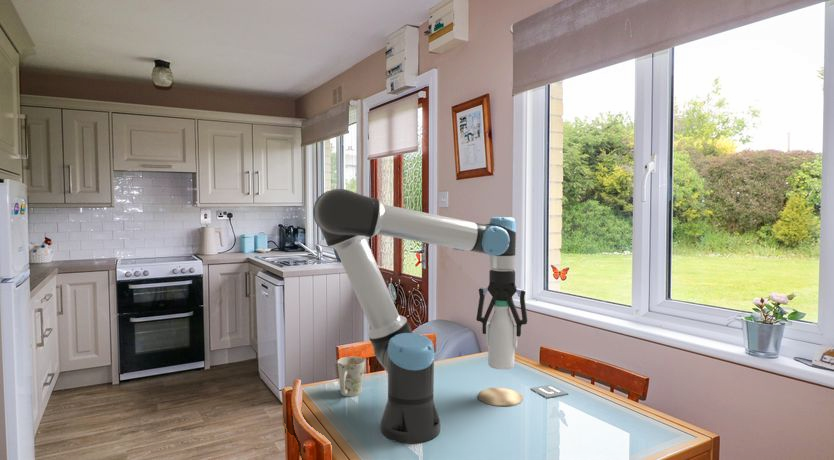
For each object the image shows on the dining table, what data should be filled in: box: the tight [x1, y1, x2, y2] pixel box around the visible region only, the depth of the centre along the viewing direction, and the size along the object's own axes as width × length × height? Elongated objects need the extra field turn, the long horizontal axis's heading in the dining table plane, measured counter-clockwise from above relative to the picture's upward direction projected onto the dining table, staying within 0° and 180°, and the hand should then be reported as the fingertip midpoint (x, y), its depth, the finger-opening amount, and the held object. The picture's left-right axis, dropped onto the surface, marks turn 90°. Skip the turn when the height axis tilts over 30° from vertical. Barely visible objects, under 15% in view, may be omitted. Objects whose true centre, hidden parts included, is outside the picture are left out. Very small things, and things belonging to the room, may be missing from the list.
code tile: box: [530, 384, 569, 399], centre depth 153 cm, size 8×8×1 cm
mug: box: [336, 356, 366, 398], centre depth 148 cm, size 8×13×10 cm, turn 174°
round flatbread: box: [477, 387, 524, 407], centre depth 148 cm, size 13×13×1 cm
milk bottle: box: [487, 300, 516, 371], centre depth 147 cm, size 8×8×20 cm
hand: (501, 345), depth 147 cm, fingers closed on milk bottle, 7 cm apart
